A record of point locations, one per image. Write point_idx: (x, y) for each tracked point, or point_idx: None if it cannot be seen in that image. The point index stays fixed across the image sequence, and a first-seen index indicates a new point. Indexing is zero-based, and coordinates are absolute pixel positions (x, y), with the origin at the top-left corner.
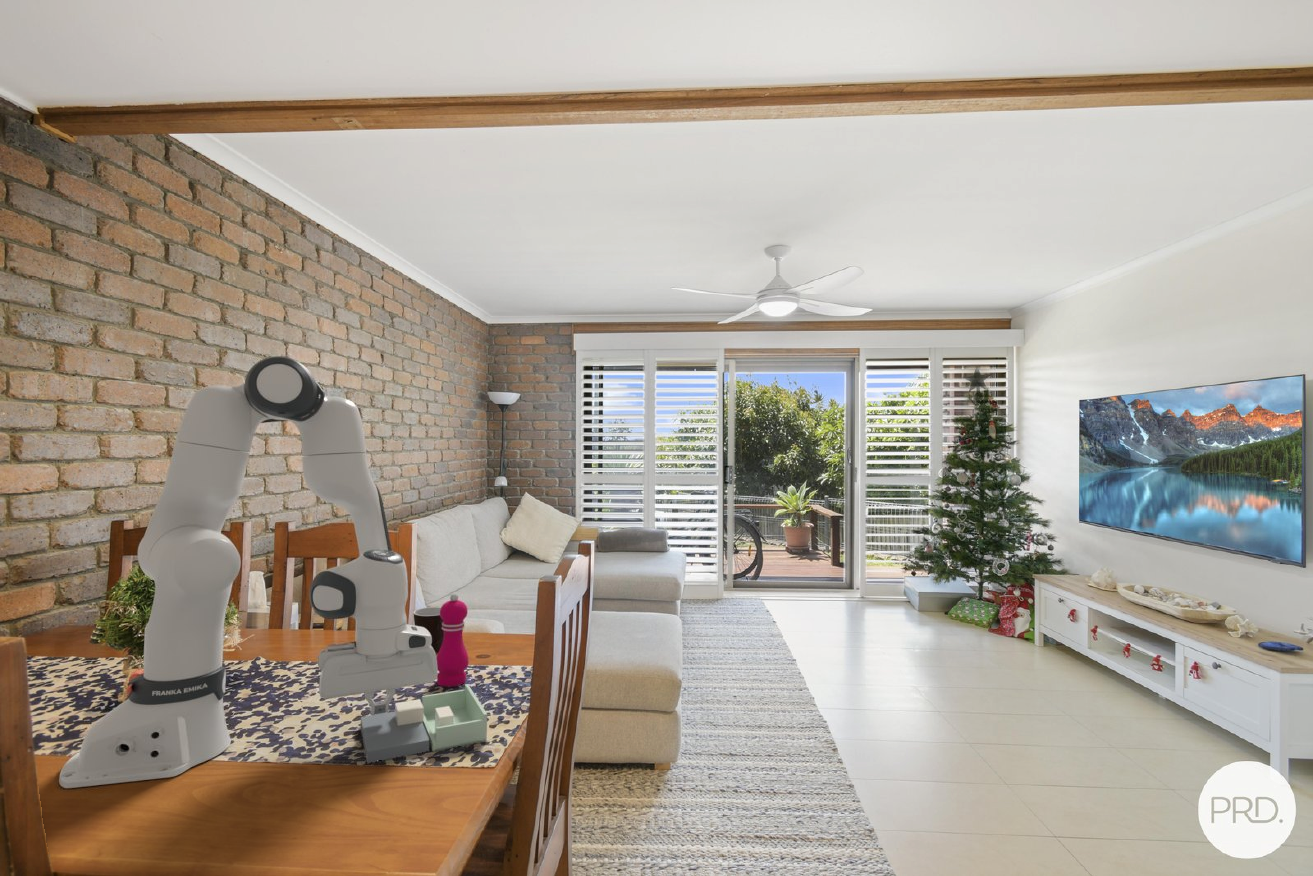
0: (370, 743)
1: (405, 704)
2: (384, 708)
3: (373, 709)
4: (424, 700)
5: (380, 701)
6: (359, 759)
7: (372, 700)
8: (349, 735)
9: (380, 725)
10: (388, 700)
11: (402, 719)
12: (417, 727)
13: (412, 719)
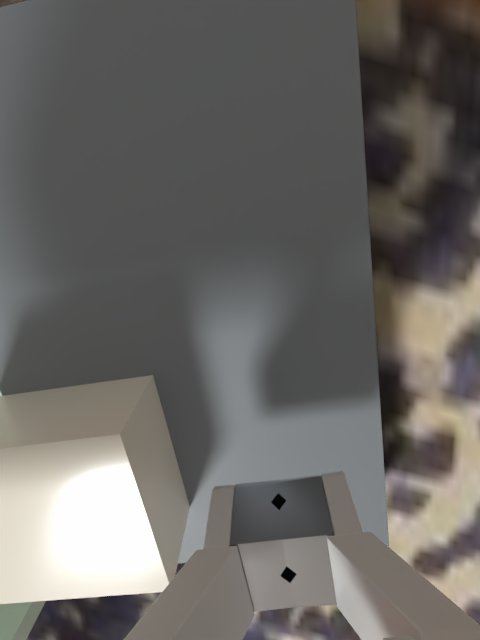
0: (327, 112)
1: (88, 554)
2: (241, 508)
3: (338, 505)
4: (14, 613)
5: (282, 604)
6: (382, 76)
7: (371, 603)
8: (428, 428)
9: (267, 406)
10: (199, 578)
11: (110, 401)
12: (11, 312)
13: (48, 401)
